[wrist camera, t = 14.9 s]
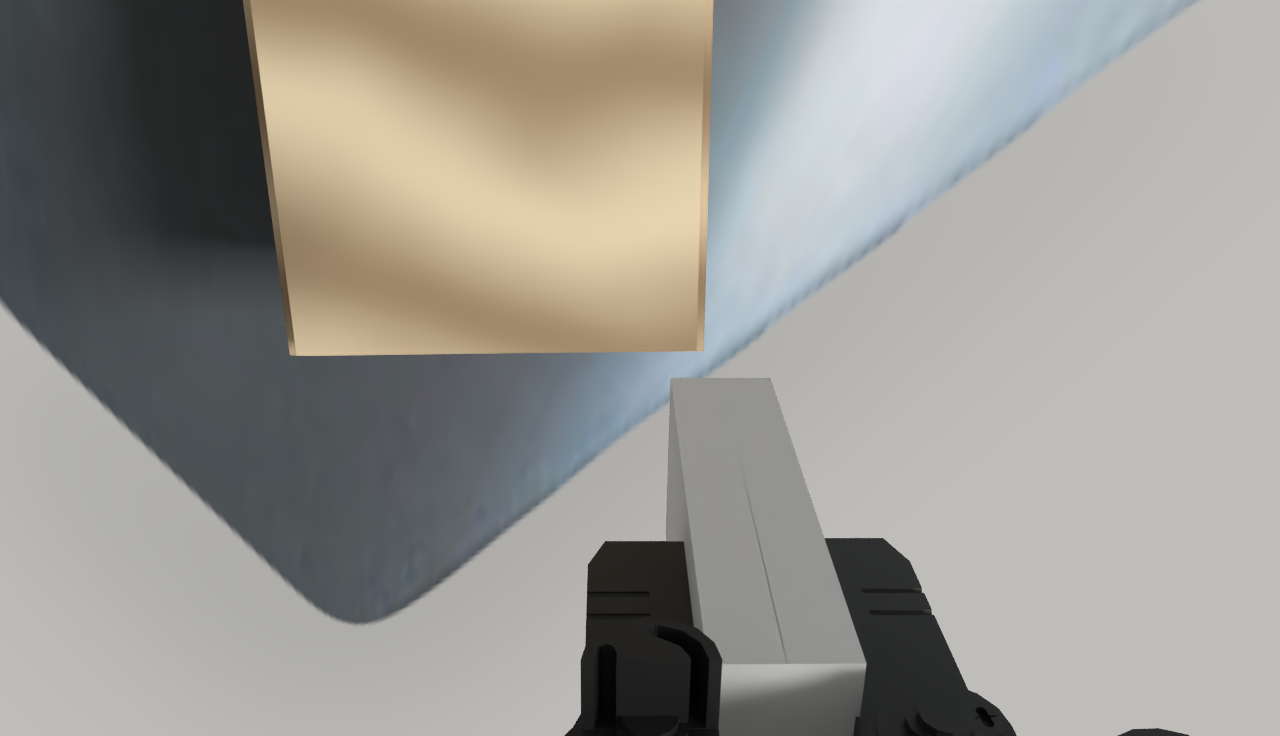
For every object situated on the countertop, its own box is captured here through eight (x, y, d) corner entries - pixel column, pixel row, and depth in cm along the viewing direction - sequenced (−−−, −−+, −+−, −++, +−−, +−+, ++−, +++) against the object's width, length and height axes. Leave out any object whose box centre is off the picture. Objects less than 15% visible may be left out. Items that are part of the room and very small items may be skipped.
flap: (209, -371, 24) (200, -378, 23) (711, -365, 24) (714, -371, 24) (301, 347, 31) (296, 356, 30) (694, 343, 31) (696, 350, 30)
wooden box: (304, -304, 33) (191, -388, 24) (690, -300, 34) (724, -382, 25) (360, 254, 40) (289, 355, 31) (680, 252, 41) (703, 351, 32)
